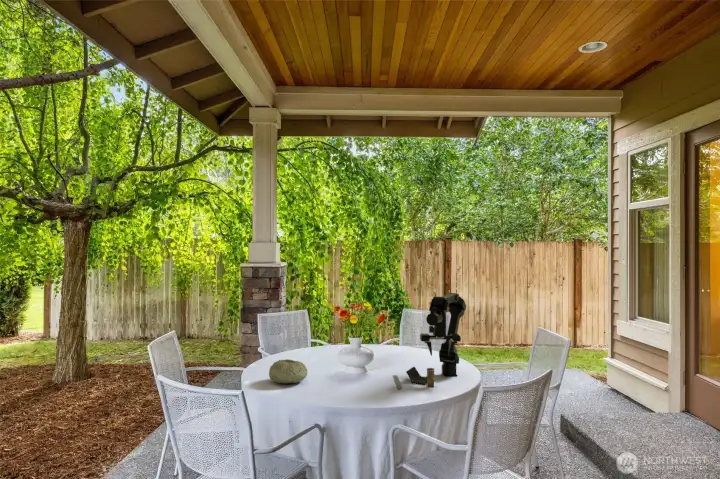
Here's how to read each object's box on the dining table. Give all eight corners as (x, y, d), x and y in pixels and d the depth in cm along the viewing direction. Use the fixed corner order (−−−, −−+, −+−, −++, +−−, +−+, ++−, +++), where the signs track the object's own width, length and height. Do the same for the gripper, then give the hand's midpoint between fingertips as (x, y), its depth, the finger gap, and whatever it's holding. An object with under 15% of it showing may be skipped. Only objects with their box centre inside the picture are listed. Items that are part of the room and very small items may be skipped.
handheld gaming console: (429, 382, 209) (416, 363, 212) (416, 391, 210) (404, 372, 213) (432, 379, 219) (420, 361, 223) (421, 387, 220) (409, 369, 224)
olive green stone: (302, 375, 224) (302, 355, 225) (311, 385, 208) (311, 363, 208) (265, 379, 218) (266, 358, 218) (272, 389, 201) (272, 366, 202)
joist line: (397, 375, 225) (397, 375, 225) (402, 389, 203) (402, 388, 203) (393, 375, 225) (393, 375, 225) (397, 389, 203) (397, 388, 203)
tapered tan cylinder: (433, 385, 209) (433, 368, 209) (434, 387, 205) (435, 369, 205) (426, 385, 209) (426, 368, 209) (427, 387, 205) (427, 369, 205)
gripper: (456, 320, 225) (456, 351, 225) (418, 320, 225) (418, 351, 225) (461, 323, 214) (461, 357, 213) (421, 323, 214) (421, 357, 214)
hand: (440, 355), depth 217 cm, fingers open, 8 cm apart
